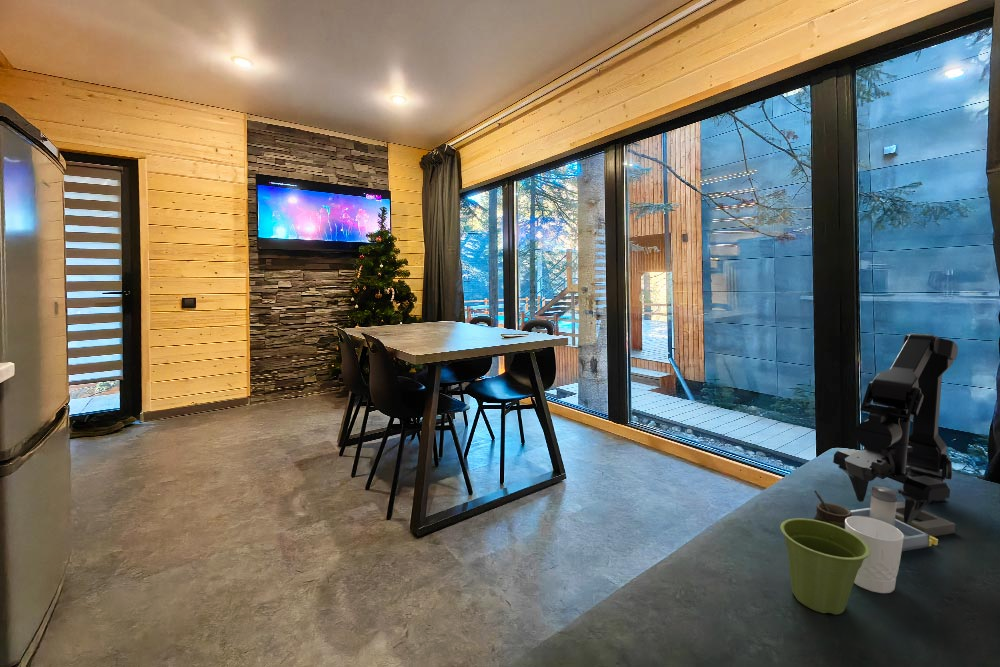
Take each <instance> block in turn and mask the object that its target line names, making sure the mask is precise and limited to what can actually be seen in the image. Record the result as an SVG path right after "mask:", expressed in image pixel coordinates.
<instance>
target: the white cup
mask: <svg viewBox="0 0 1000 667" xmlns="http://www.w3.org/2000/svg"><path fill="white" fill-rule="evenodd" d="M845 530H847V531H849V532H851V533H853V534H855V535H856V536H858V537H859V538H860V539H862V540H863V541H864V542H865V543H866V544H867V545H868V547H869V549H870V554H869V556H868V557H867V558H865V559H864V560H863V563H862V565H861V567H860V568H859V569H858V572H857V575H856V578H855V581H854V584H855V585H856V586H858V587H860V588H862V589H865V590H867V591H870V592H873V593H879V594H890V593H893V591H895V590H896V589H895V588H896V581H897V576H898V573H899V567H900V563H901V556H902V553H903V551H902V546H903V540H904V534H903V533H902V532H901V531H900V530H899V529H897V528H896V527H894V526H892V525H890V524H888V523H886V522H883V521H880V520H877V519H873V518H869V517H863V516H851V517H847V518H846V519H845Z"/></svg>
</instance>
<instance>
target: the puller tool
mask: <svg viewBox="0 0 1000 667" xmlns="http://www.w3.org/2000/svg"><path fill="white" fill-rule="evenodd" d="M938 542H939V539H938V538H936V537H935V536H933V537H932V536H930V537H929V547H932V545H934V546H938V544H939V543H938Z"/></svg>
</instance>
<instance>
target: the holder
mask: <svg viewBox="0 0 1000 667" xmlns="http://www.w3.org/2000/svg"><path fill="white" fill-rule="evenodd" d="M904 510H905V501H903V500H902V501H897V504H896V515H895V519H897V520H899V521H901V522H903V523H904ZM914 519H917V520H919V521H917V520H913V521H912V522H911V523H910V524H907V525H910V526H912V527H914V528H916V529H918V530H920V531H922V532H924V533H926V534H928V535H930V536H932V537H937V536H946V535H950V534H955V533H956V532H955V531H956V523H954V522H952V521H949V520H947V519H945V518H943V517H941V516H939V515H936V514H934V513H932V512H929V511H926V510H924V509H922V510H921V511H920V512H919V514H918V515H917V516H916V517H915V518H914Z"/></svg>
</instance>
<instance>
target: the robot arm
mask: <svg viewBox="0 0 1000 667" xmlns="http://www.w3.org/2000/svg"><path fill="white" fill-rule="evenodd" d="M902 341H903V342H902V347H901V350H900V352H899V353H898V354H897V356H896V358H895V360H893V363H892V365H891V366H890V368H889V369H886V370H883V371H880V372H877V375H875V377H874V378H873V380H872V381H869V383H868V384H867V388H866V390H865V393H864V397H863V399H862V403H861V406H860V409H859V410H860V411H861V412H865V413H869V414H868V419H866V420H864V421H861V422H860V423H858V424H857V425H856V427H855V429H854V438H855V440H856V441H857V443H859V445H861V447H863V449H862V450H861V451H860V450H857V449H854V448H852V449H843V450H836V451H835V452H834V454H833V459H832V462H833V464H835V465H838V466H837V468H838V469H840V470H842V471H843V472H844V473H846V475H848V477H849V480H850V482H851V486H852V488H853V491H854V494H855V496H856V500H857V501H858V502H860V503H861V502H864V501H865V498H866V495H867V491H868V487H869V486H868V485H869V482H872V481H874V480H875V479H876V478H879V479H880V480H884V479H886V478H888V479H889V480H892V481H895V482H897V483H901V484H902V487H901V488H898V489H897V491H898V492H899V493H901V495H902V497H903V498H904V499H905V501H904V502H905V510H904V523H905V524H910V523H911V522H912V521H913V520H914V519H916V518H915V517H916V516H917V515H918V514H919V512H920V511H921V510H924V508H925V507H926V506H928V505H929V503H935V502H936V503H937V502H943V501H947V499H950V494H951V488H950V486H949V485H948V484H947V482H944V481H946V480H952V479H953V471H954V470H953V463H952V461H951V459H950V456H949V454H947V444H946V443H945V442H944V440H943V439H942V437H941V436H940V435H939V422H940V421H939V420H940V410H941V408H940V407H941V395H942V394H941V393H942V383H943V382H942V381H943V375H944V374H945V373H946V372H947V371H948V370H949V369H950V368H951V367H952V366H953V363H954V361H955V360H957V357H958V354H959V346H958V344H957V343H956V342H954V341H953V340H952V339H949V338H942V337H939V336H937V335H934V334H928V333H913V332H911V333H910V334H908V333H907V334H906V335H905V337H903V340H902ZM872 403H873V404H872ZM911 420H912V427H911ZM910 428H912V430H911V434H910Z"/></svg>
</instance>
